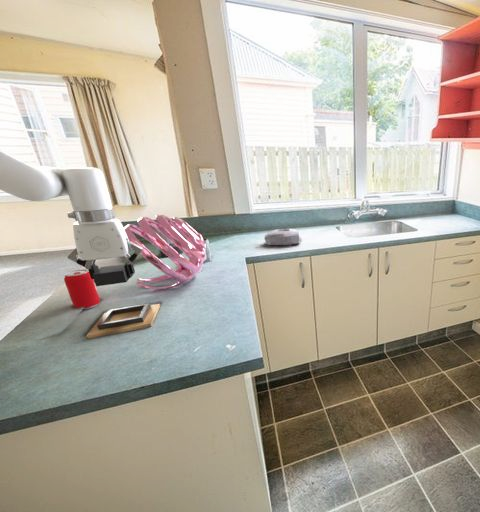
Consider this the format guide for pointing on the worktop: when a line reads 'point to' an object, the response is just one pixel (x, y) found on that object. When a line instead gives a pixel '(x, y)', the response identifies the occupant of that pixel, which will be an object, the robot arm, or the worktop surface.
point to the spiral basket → (170, 248)
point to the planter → (207, 250)
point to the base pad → (125, 320)
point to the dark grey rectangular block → (110, 275)
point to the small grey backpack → (282, 237)
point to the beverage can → (81, 289)
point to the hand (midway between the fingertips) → (114, 278)
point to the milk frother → (169, 243)
